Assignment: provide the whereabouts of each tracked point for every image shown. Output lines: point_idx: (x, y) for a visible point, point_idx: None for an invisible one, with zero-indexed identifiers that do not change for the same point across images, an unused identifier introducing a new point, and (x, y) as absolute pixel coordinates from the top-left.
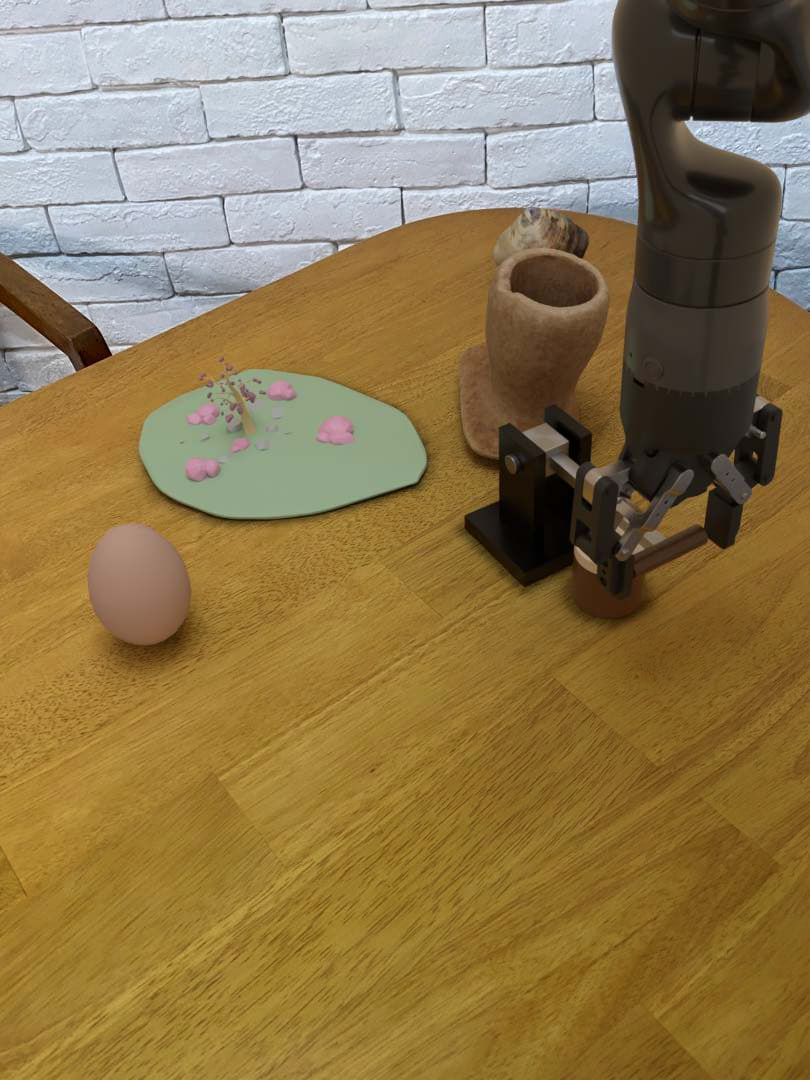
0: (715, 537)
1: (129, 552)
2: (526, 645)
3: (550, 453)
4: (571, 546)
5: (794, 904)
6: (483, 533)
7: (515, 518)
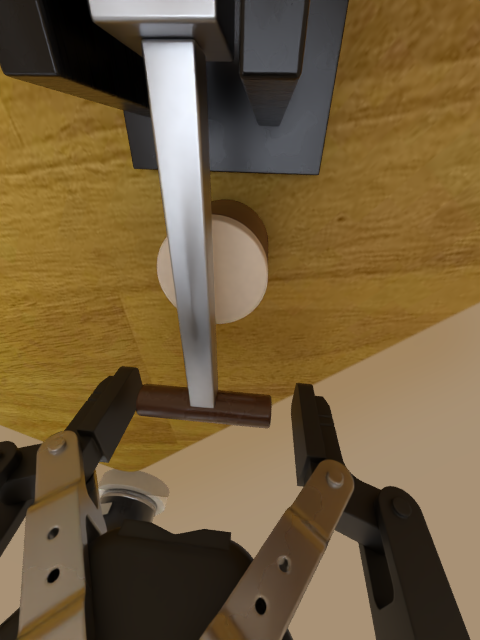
0: (294, 403)
1: None
2: (109, 250)
3: (131, 29)
4: (224, 160)
5: (170, 453)
6: None
7: None
